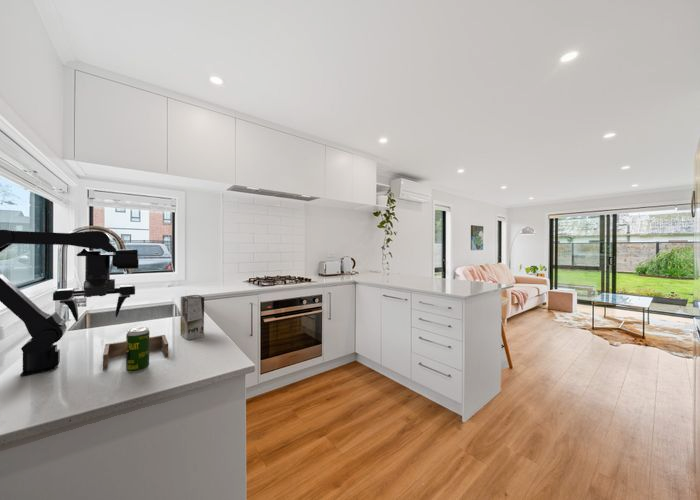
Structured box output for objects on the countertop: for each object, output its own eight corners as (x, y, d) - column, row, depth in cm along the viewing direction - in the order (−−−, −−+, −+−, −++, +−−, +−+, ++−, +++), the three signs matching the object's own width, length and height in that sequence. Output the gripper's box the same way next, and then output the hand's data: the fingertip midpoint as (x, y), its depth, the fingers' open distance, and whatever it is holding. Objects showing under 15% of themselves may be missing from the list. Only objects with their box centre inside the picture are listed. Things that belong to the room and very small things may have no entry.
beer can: (135, 365, 82) (135, 326, 82) (153, 365, 82) (153, 326, 82) (120, 374, 77) (121, 332, 77) (140, 374, 77) (140, 332, 77)
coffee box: (204, 336, 109) (205, 297, 109) (186, 340, 105) (187, 299, 105) (196, 331, 116) (197, 294, 116) (179, 334, 111) (180, 296, 111)
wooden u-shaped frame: (102, 369, 79) (103, 355, 79) (105, 357, 87) (105, 344, 87) (168, 356, 89) (168, 343, 89) (164, 346, 98) (164, 334, 98)
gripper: (48, 273, 74) (48, 330, 74) (135, 271, 86) (135, 319, 86) (57, 270, 82) (56, 321, 82) (134, 268, 94) (134, 312, 94)
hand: (97, 318), depth 86 cm, fingers open, 9 cm apart
